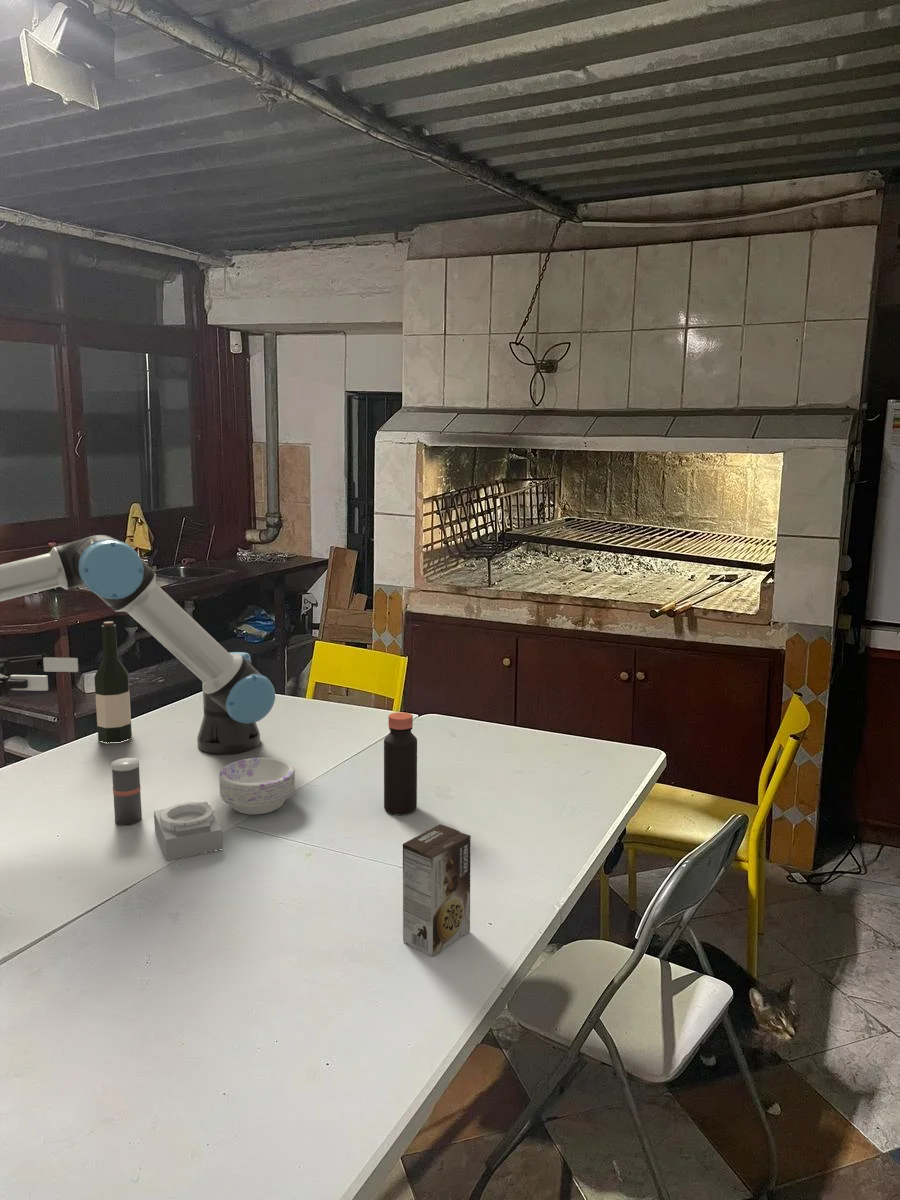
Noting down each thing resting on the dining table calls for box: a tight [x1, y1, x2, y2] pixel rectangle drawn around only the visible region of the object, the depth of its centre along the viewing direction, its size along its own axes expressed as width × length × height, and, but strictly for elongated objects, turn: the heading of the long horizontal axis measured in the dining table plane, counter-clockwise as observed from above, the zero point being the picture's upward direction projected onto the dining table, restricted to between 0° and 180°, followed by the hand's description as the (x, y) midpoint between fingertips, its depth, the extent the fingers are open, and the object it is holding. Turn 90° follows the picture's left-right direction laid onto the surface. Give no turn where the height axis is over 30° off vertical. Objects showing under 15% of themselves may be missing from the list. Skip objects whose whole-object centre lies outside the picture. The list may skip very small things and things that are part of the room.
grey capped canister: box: [110, 757, 143, 826], centre depth 172 cm, size 5×5×12 cm
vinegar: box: [383, 711, 418, 816], centre depth 178 cm, size 7×7×20 cm
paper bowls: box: [218, 756, 296, 816], centre depth 180 cm, size 15×15×8 cm
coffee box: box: [402, 823, 472, 957], centre depth 132 cm, size 9×6×16 cm
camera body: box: [153, 801, 224, 861], centre depth 165 cm, size 10×14×6 cm
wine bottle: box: [94, 620, 133, 743], centre depth 218 cm, size 8×8×30 cm
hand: (63, 673), depth 167 cm, fingers open, 13 cm apart
